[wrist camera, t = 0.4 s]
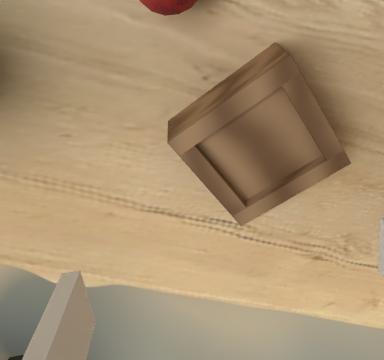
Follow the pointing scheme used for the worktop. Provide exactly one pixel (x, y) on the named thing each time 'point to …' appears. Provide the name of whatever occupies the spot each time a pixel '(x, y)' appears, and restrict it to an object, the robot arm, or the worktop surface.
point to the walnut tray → (257, 137)
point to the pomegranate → (168, 6)
